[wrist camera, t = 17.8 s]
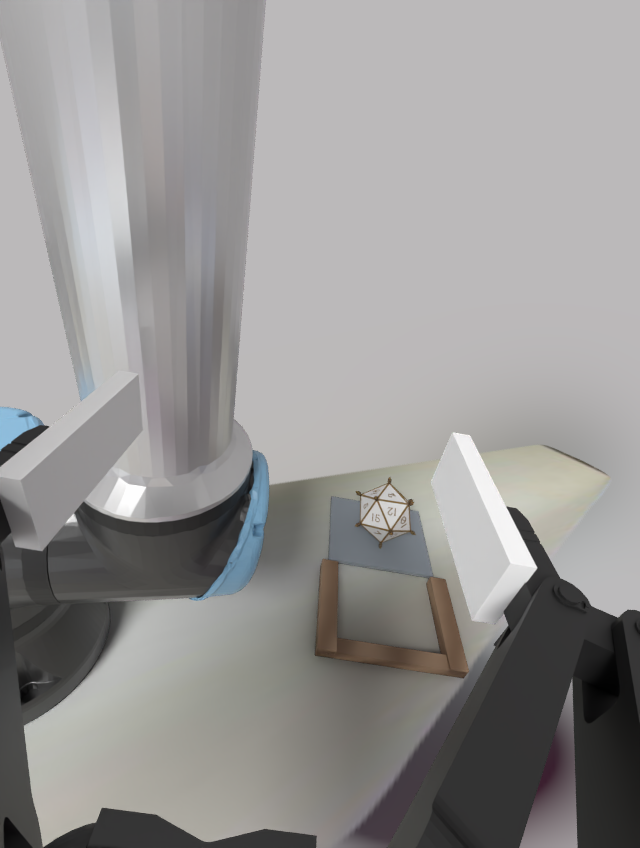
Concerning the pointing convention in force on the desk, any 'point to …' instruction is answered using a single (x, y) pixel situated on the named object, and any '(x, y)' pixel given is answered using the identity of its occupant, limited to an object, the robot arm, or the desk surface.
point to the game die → (385, 513)
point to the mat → (375, 543)
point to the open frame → (338, 648)
